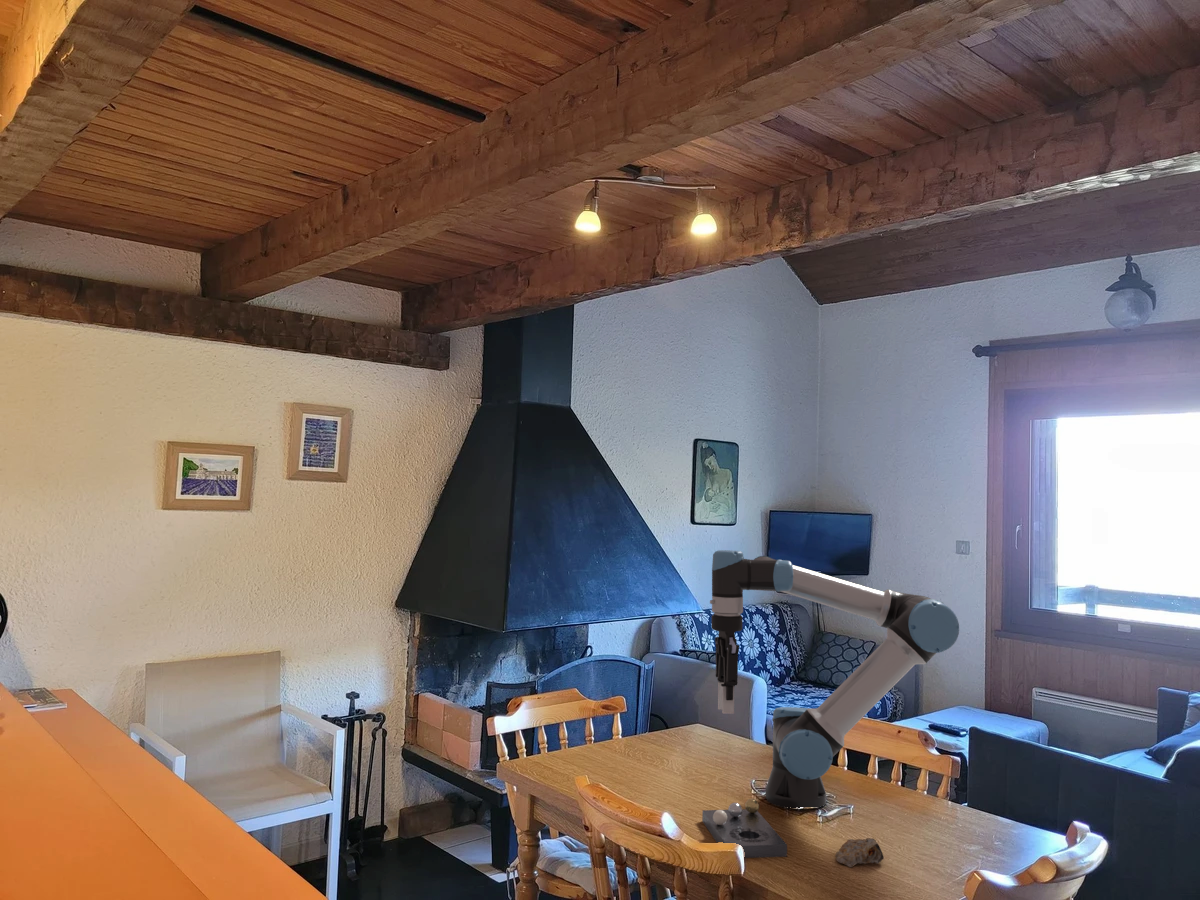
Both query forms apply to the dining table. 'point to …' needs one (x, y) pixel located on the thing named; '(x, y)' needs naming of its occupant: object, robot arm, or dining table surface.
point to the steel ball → (735, 810)
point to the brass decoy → (752, 806)
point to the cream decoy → (720, 817)
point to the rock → (859, 852)
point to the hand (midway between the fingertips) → (725, 711)
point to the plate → (747, 834)
